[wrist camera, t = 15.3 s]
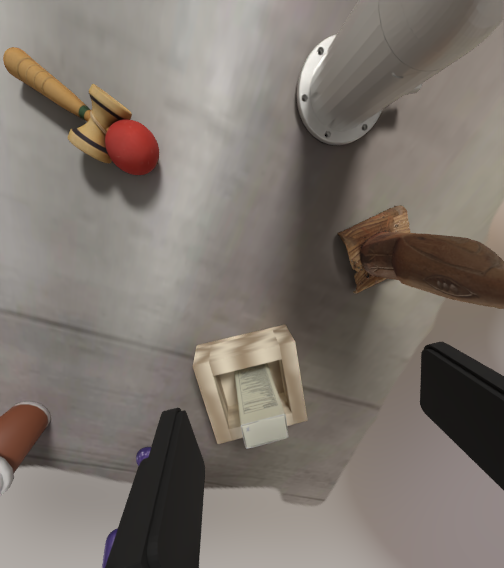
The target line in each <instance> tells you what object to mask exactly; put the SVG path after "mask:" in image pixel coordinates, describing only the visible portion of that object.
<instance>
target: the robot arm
mask: <svg viewBox="0 0 504 568" xmlns="http://www.w3.org/2000/svg"><path fill="white" fill-rule="evenodd" d="M503 20H504V0H359V1H358V2H357V4H356V5H355V7H354V8H353V10H352V12H351V13H350V15H349V16H348V18H347V19H346V21H345V23H344V24H343V26H342V27H341V29H340V30H339V32H338V34H336V35H332V36H330V37H328V38H326V39H324V40H323V41H322V42H320V43H319V44H318V45H317V46H316V47H315V48H314V49H313V50H312V52H311V53H310V54H309V56H308V58H307V59H306V61H305V63H304V65H303V67H302V70H301V72H300V75H299V79H298V83H297V106H298V110H299V114H300V117H301V119H302V121H303V123H304V125H305V126H306V128H307V130H308V131H309V132H310V133H311V134H312V135H313V136H314V137H315V138H317V139H318V140H320V141H321V142H324V143H327V144H330V145H345V144H348V143H351V142H353V141H355V140H357V139H359V138H360V137H362V136H363V135H365V134H366V133H367V132H368V131H369V130H370V129H371V128H372V127H373V125H374V124H375V123H376V121H377V120H378V118H379V116H380V114H381V112H382V109H384V108H385V107H387V106H389V105H390V104H392V103H393V102H395V101H396V100H398V99H399V98H401V97H402V96H404V95H408V94H413V93H417V92H418V91H419V90H420V88H421V86H422V84H423V82H425V81H426V80H428V79H430V78H431V77H433V76H434V75H436V74H437V73H439V72H440V71H442V70H443V69H445V68H446V67H448V66H449V65H451V64H452V63H454V62H455V61H457V60H458V59H460V58H461V57H463V56H464V55H466V54H467V53H469V52H470V51H471V50H473V49H474V48H475V47H477V46H478V45H479V44H480V43H482V42H483V41H484V40H485V39H486V38H487V37H488V36H489V35H490V34H491V33H492V32H493V31H494V30H495V29H496V28H497V27H498V26H499V24H500V23H501V22H502V21H503ZM302 99H303V100H304V102H303V101H302ZM325 135H326V136H327V137H325ZM420 405H421V408H422V410H423V411H424V412H425V414H426V415H427V416H428V417H429V418H430V419H431V420H432V421H433V422H434V423H435V424H437V426H439V427H440V429H442V430H443V431H444V432H445V433H446V434H447V435H448V436H449V437H450V438H451V439H452V440H453V441H454V442H455V443H456V444H457V445H458V446H459V447H460V448H461V449H462V450H463V451H464V452H465V453H466V454H467V455H468V456H469V457H470V458H471V459H472V460H473V461H474V462H475V463H477V465H478V466H479V467H480V468H481V469H482V470H484V472H485V473H487V474H488V475H489V476H490V477H491V478H492V479H493V480H494V481H495V482H496V483H497V484H498V485H499V486H500V487H501V488H502V489H503V490H504V376H502V375H501V374H499V373H497V372H495V371H494V370H492V369H490V368H488V367H486V366H485V365H483V364H481V363H480V362H478V361H476V360H474V359H473V358H471V357H469V356H467V355H466V354H464V353H462V352H460V351H459V350H457V349H455V348H453V347H452V346H450V345H448V344H446V343H444V342H437V343H433V344H429V345H426V346H425V347H424V350H423V351H422V355H421V390H420ZM204 480H205V465H204V461H203V458H202V455H201V452H200V449H199V447H198V444H197V441H196V438H195V435H194V433H193V430H192V427H191V424H190V421H189V419H188V416H187V413H186V411H181V409H180V408H175V409H171V410H167V411H163V412H162V414H161V417H160V420H159V424H158V427H157V430H156V434H155V437H154V440H153V443H152V447H151V450H150V453H149V457H148V458H145V459H143V460H142V461H141V462H140V465H139V467H138V470H137V473H136V476H135V479H134V482H133V485H132V488H131V491H130V494H129V497H128V500H127V503H126V506H125V509H124V512H123V515H122V518H121V521H120V524H119V527H118V530H117V533H116V536H115V539H114V542H113V545H112V548H111V551H110V554H109V557H108V560H107V563H106V566H105V568H199V553H200V539H201V525H202V509H203V495H204Z"/></svg>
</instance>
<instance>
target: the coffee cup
mask: <svg viewBox="0 0 504 568" xmlns="http://www.w3.org/2000/svg"><path fill="white" fill-rule="evenodd" d="M50 420H51V416H50V413H49V411H48V410H47V408H45V407H44V406H43V405H41V404H39V403H36V402H31V401H24V402H20V403H17V404H16V405H14V406H13V407H12V408H11V409H10V410H8V411H7V412H6V413H5V414H3V415H2V416H1V417H0V495H2V494H3V493H5V492H6V491H7V490H8V488H9V487H10V485H11V483H12V481H13V479H14V475H13V474H14V472H15V471H16V469H17V468H18V466H19V465H20V464H21V462H22V461H23V459H24V458H25V457H26V455H27V454H28V452H29V451H30V449H31V448H32V447H33V445H34V444H35V442H36V441H37V440H38V438H39V437H40V435H41V434H42V433H43V431H44V430H45V428H46V427H47V426H48V425H49V422H50Z"/></svg>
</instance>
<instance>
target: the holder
mask: <svg viewBox="0 0 504 568" xmlns="http://www.w3.org/2000/svg"><path fill="white" fill-rule="evenodd" d="M264 363H267V364H268V366H269V369H270V372H271V375H272V378H273V381H274V383H275V386H276V389H277V392H278V395H279V398H280V401H281V403H282V406H283V409H284V412H285V415H286V420H287V426H289V425H293V424H297V423H300V422H304V421H308V420H307V414H306V407H305V401H304V395H303V389H302V382H301V376H300V370H299V363H298V357H297V351H296V344H295V341H294V339H293V337H292V336H291V334H290V332H289V330H288V329H287V327H286V325H281V326H277V327H273V328H268V329H264V330H260V331H256V332H251V333H247V334H243V335H239V336H235V337H230V338H226V339H222V340H218V341H213V342H209V343H205V344H201V345H197V347H196V352H195V357H194V362H193V369H194V372H195V375H196V378H197V382H198V385H199V388H200V391H201V394H202V397H203V400H204V403H205V406H206V410H207V413H208V416H209V419H210V422H211V425H212V428H213V431H214V434H215V438H216V441H217V444H221V443H224V442H228V441H232V440H236V439H240V438H243V435H242V430H241V424H240V415H239V407H238V398H237V390H236V382H235V373H234V371H236V370H240V369H244V368H248V367H252V366H256V365H260V364H264Z"/></svg>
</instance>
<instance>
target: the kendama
mask: <svg viewBox="0 0 504 568" xmlns="http://www.w3.org/2000/svg"><path fill="white" fill-rule="evenodd" d="M3 60H4V65H5V67H6V69H7V71H8V72H9V73H10V74H11V75H13V76H14V77H16V78H17V79H19V80H21V81H22V82H24V83H26V84H27V85H29V86H30V87H32V88H33V89H35V90H36V91H38V92H40V93H41V94H43V95H44V96H46V97H47V98H49V99H50V100H52V101H53V102H55V103H56V104H58V105H59V106H61V107H62V108H64V109H66V110H68V111H69V112H71V113H73V114H75V115H76V116H78V117H80V118H82V119H84V120H86V121H87V123H86V124H85V125H83V126H81V127H79V128H73V129H70V132H69V135H68V140H69V141H70V142H71V143H72V144H73V145H74V146H76V147H77V148H78V149H80V150H81V151H83V152H84V153H86V154H88V155H89V156H91V157H93V158H95V159H97V160H99V161H101V162H104V163H111V162H112V161H113V163H114V164H115V165H116V166H117V167H119V168H120V169H121V170H123V171H125V172H127V173H129V174H132V175H144V174H147V173H149V172H150V171H152V170H153V169H154V167H155V166H156V164H158V159H159V147H158V143H157V141H156V139H155V137H154V136H153V134H152V133H151V132H150V131H149V130H148V129H147V128H146V127H145V126H144V125H142V124H141V123H139V122H136V121H133V120H130V119H131V116H132V114H131V112H130V111H129V110H128V109H127V108H125V107H124V106H123V105H122V104H120V103H119V102H118V101H116V100H115V99H114V98H112V97H111V96H110V95H108V94H107V93H106V92H105V91H103V90H102V89H100V88H99V87H97V86H96V85H94V84H92V86H91V88H90V89H89V94H90V97H91V101H92V110H90V109H89V108H88V107H87V106H86V105H85V104H84V103H83V102H82V101H81V100H80V99H79V98H78V97H77V96H76V95H74V94H73V93H72V92H71V91H70V90H69V89H68V88H66V87H65V86H64V85H63V84H62V83H61V82H59V81H58V80H57V79H56V78H54V77H53V76H52V75H51V74H50V73H48V72H47V71H46V70H45V69H44V68H42V67H41V66H40V65H39V64H38V63H36V62H35V61H34V60H33V59H32V58H31V57H30V56H29V55H27V54H26V53H25V52H24V51H23V50H21V49H19V48H14V47H12V48H9V49H7V50H6V51H5V53H4V57H3Z"/></svg>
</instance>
